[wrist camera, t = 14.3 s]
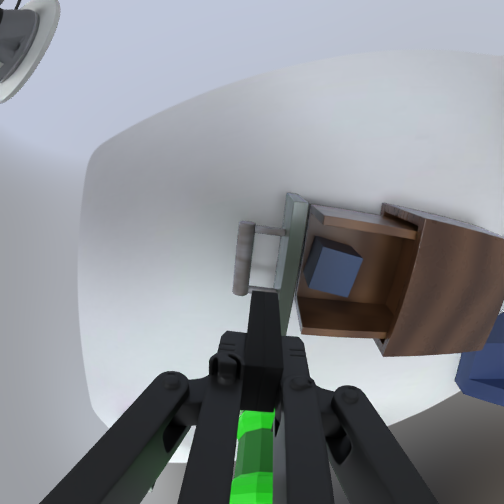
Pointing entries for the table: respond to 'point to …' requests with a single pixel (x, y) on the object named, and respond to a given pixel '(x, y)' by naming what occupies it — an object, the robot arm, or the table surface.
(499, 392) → the phone stand
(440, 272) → the cabinet
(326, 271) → the block
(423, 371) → the table surface
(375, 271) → the drawer
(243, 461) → the plastic bottle
